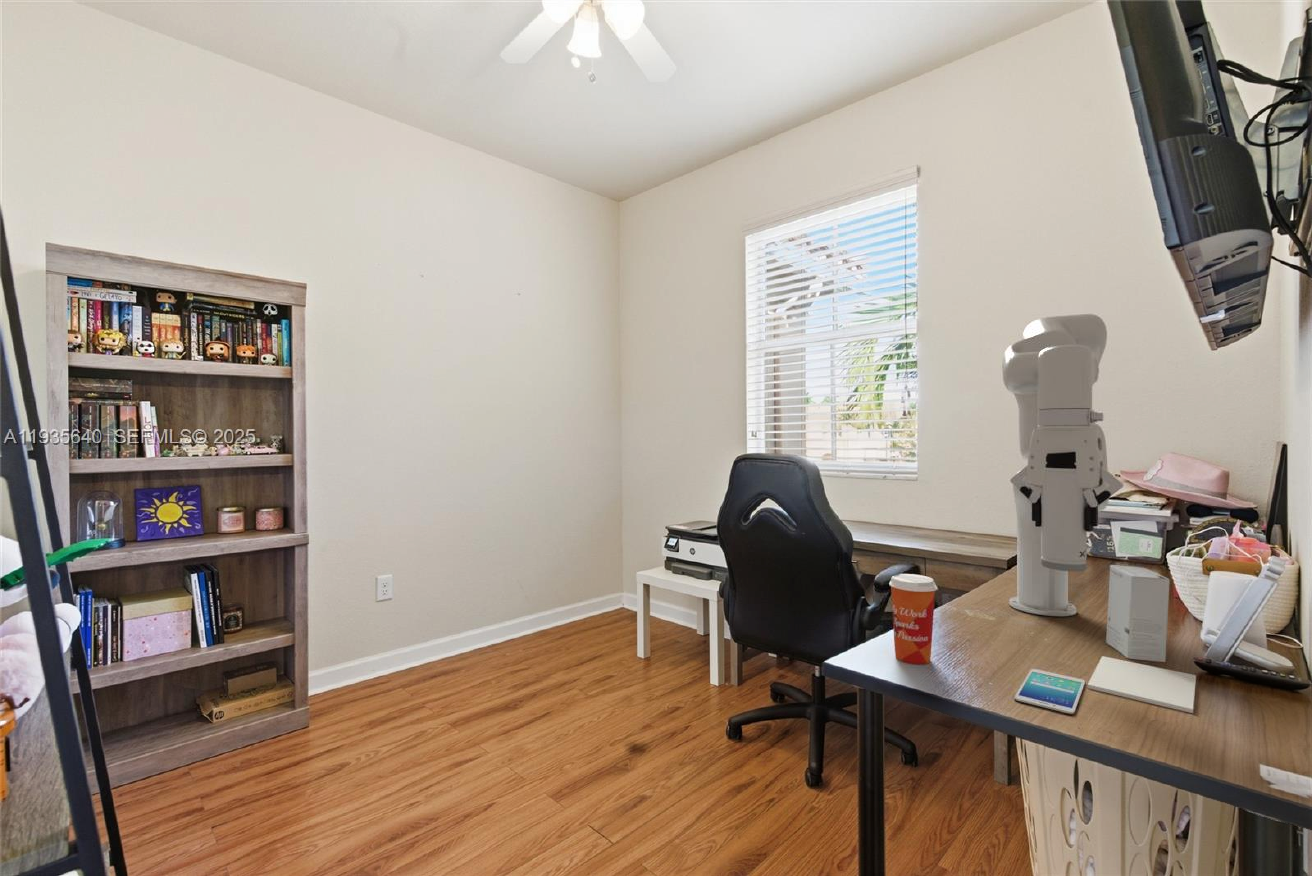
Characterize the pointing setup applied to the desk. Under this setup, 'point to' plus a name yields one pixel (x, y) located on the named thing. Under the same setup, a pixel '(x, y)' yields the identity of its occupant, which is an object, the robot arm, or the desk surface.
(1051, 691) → the smartphone
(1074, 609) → the robot arm
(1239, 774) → the desk surface
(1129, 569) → the skincare box
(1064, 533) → the travel mug
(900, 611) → the paper cup
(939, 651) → the desk surface
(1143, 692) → the off-white mat
